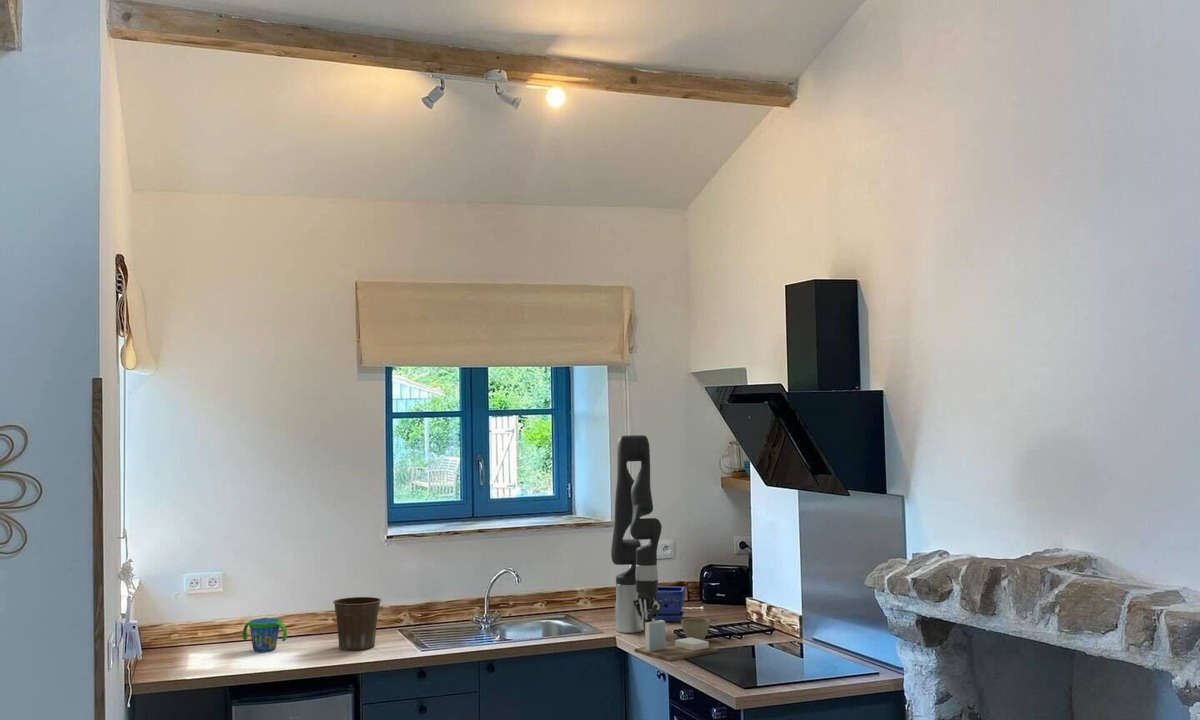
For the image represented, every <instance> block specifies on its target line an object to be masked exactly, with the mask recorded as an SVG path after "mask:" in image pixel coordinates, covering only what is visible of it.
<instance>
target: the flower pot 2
mask: <svg viewBox="0 0 1200 720" xmlns="http://www.w3.org/2000/svg"><path fill="white" fill-rule="evenodd" d="M710 623H711V621H710V619H709V618H705V617H687V618H681V619H680V624H681V628H682V631H683V633H684V636H685V638H690V637H692V638H696V639H700V640H704V641H705V638H706V636H707V634H708V633H709V632H708V631H709V628H710Z"/></svg>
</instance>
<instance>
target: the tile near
mask: <svg viewBox="0 0 1200 720" xmlns="http://www.w3.org/2000/svg"><path fill="white" fill-rule="evenodd" d="M644 632H645V633H644V634H645V635H644V636H645V637H644V638H645V639H644V641H645V642H644V643H645V644H644V645H645V646H644V647H645V650H647V651H653V650H659V649H664V648H666V643H667V642H666V621H664V620H658V621H655V620H652V622H646V623H645V630H644Z"/></svg>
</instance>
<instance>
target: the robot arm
mask: <svg viewBox="0 0 1200 720" xmlns="http://www.w3.org/2000/svg"><path fill="white" fill-rule="evenodd" d="M616 451H617V452H616V453H617V455H616V456H617V459H616V460H617V468H616V469H617V471H616V473H617V475H616V487H615V496H614V497H615V499H614V501H615V502H614V525H613V535H612V542H611V547H610V548H611V549H610V552H611V553H610V555H611V561H612V563H613V564H614V565H616V566H617V565H618V566H619V565H620V566H625V565H626V566H628V565H630V568H628V569H627V570H626V571H623V572H621V573H619V574H617V575H616V576H615V598H616V600H615V602H616V603H615V604H614V621H615V622H614V624H615V625H614V626H615V630H616V631H617V632H618V633H625V634H626V633H627V634H629V633H630V634H633V633H639V632H641V631H645V623H646V622H652V621H653V620H654V619H653V618H656V616H657V614H658V613H659V611H660V609H661V607H662V605H661V604H658V602H657V597H656V593H657V592H658V586H659V571H658V565H657V564H658V561H657V560H658V545H659V542H660V537H661V534H662V528H663V527H662V523H661V521H660V520H659V519H658V518H657V517H650V518H642V517H643V516H647V515H648V516H649V515H650V514H652V513H653V510H654V505H653V496H652V490H651V489H652V488H651V452H650V451H651V450H650V441H649V439H648V437H647V436H646V435H641V434H640V435H639V434H638V435H637V434H635V435H634V434H633V435H631V434H630V435H621V436H619V437H618V440H617V447H616ZM629 462H640V463H641V464H640V469H639V472H638V475H637V476H636V477H635V480H634V478H633V477H632V475H631V473H630V470H629V469H628V466H627V464H628V463H629ZM629 528H630V529H629ZM628 529H629V532H630V535H631V537H632V538H627V539H625V538H624V536H625V533H626V531H627V530H628ZM641 540H643V541H644V540H649V542H648V543H647V544H645V545H641ZM642 622H643V626H642Z"/></svg>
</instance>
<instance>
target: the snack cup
mask: <svg viewBox="0 0 1200 720" xmlns="http://www.w3.org/2000/svg"><path fill="white" fill-rule="evenodd" d="M248 627H249V630H250V637H251V644H252V645H251V646H252V650H253V651H254V652H257V653H263V652H264V653H266V652H273V651H275V649H276V648H277V644H278V639H279V638H278V637H279V631H280V628H281V631H282V632H283V633H282V639H281V642H285V641H286V640H287V637H288V633H287V628H286V625H285V623H283V622H282V620H281V619H280V618H277V617H264V618H263V617H262V618H255V619H251V620H249V621H248V622H246V623H245V624H244V627H243V630H242V639H243V640H244V641H246V640H247V639H248Z"/></svg>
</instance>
